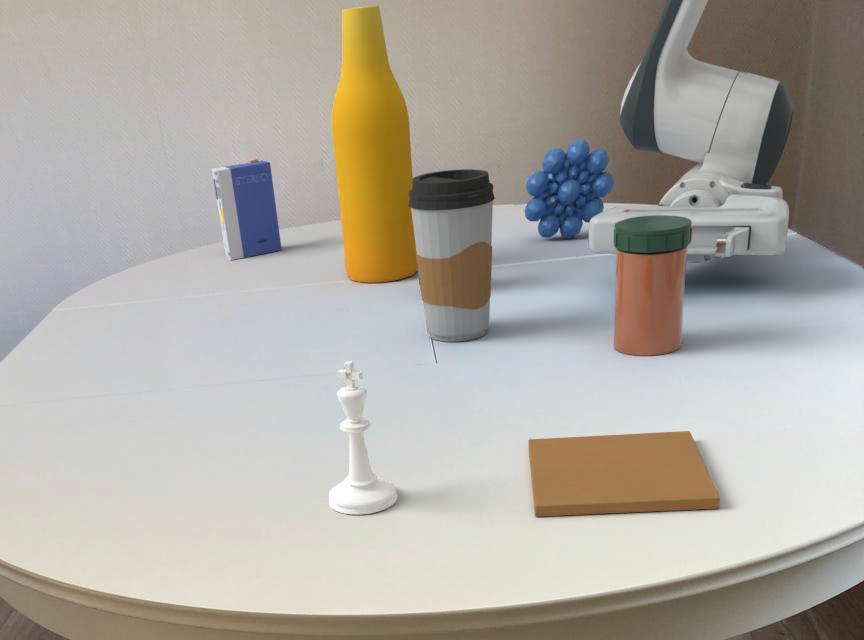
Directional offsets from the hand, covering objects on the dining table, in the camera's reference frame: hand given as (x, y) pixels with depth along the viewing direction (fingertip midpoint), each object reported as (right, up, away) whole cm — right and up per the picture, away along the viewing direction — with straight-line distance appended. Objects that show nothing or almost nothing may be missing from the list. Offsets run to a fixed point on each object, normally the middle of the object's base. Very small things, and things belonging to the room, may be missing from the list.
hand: (674, 248), depth 106 cm
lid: (-5, -2, -12) cm, 13 cm away
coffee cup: (-21, -8, +3) cm, 23 cm away
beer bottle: (-29, +7, +28) cm, 41 cm away
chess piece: (-31, -29, -30) cm, 52 cm away
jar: (-4, -11, -6) cm, 14 cm away
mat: (-13, -28, -31) cm, 43 cm away
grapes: (-4, +15, +37) cm, 40 cm away
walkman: (-48, +16, +45) cm, 67 cm away
